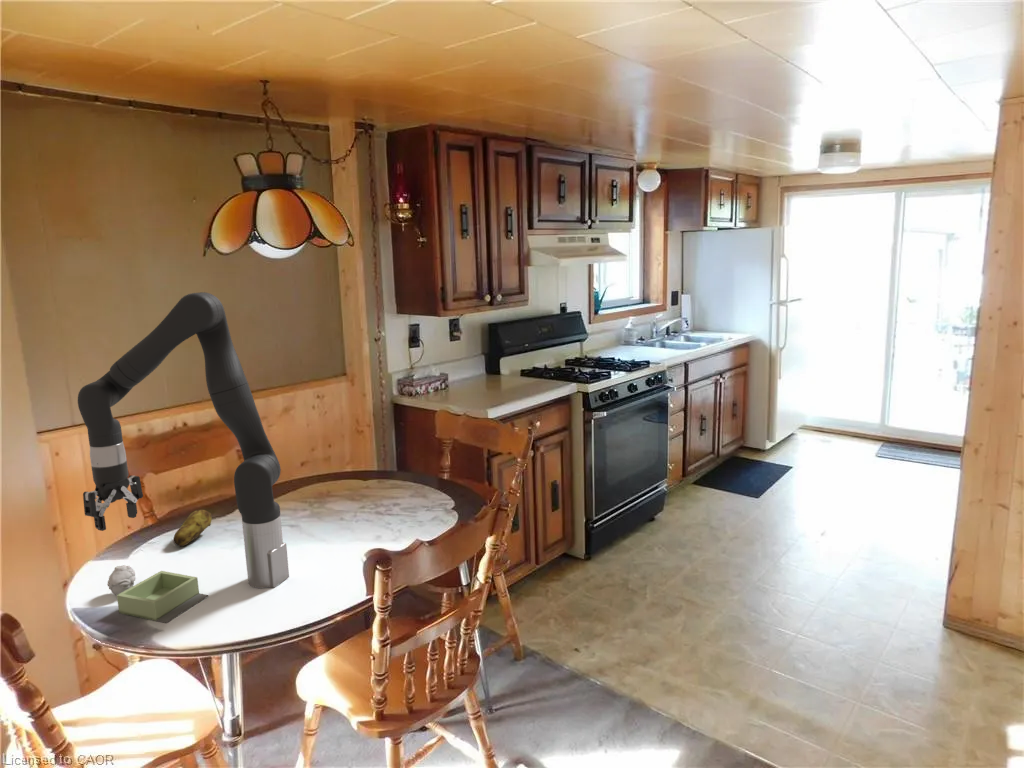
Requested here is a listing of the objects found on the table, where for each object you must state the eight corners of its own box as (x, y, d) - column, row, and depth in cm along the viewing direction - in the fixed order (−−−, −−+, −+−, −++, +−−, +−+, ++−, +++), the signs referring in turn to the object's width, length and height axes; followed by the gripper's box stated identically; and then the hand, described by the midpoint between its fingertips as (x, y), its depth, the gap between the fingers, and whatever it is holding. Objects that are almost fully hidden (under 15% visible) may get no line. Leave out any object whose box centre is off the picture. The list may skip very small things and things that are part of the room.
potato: (164, 544, 198) (161, 518, 197) (205, 529, 209) (202, 504, 207) (179, 551, 194) (176, 524, 192) (221, 535, 204) (218, 510, 202)
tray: (208, 596, 168) (206, 579, 167) (166, 623, 156) (164, 605, 155) (163, 587, 172) (161, 570, 172) (119, 613, 160) (116, 595, 160)
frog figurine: (142, 586, 173) (139, 560, 172) (128, 600, 166) (124, 573, 165) (118, 587, 173) (115, 561, 172) (103, 601, 166) (99, 574, 165)
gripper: (93, 471, 158) (102, 536, 161) (145, 454, 171) (152, 514, 174) (70, 468, 161) (80, 532, 164) (123, 451, 174) (131, 511, 177)
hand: (117, 523), depth 169 cm, fingers open, 8 cm apart
